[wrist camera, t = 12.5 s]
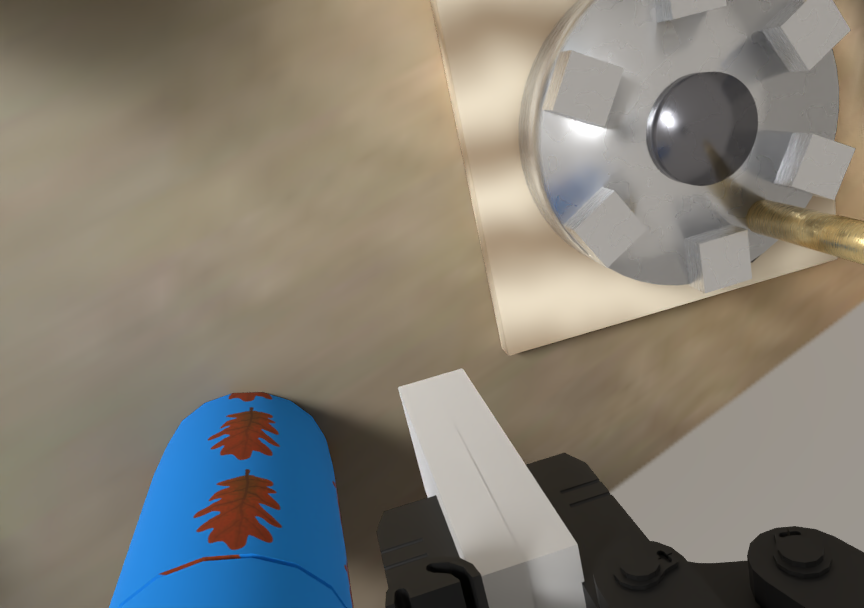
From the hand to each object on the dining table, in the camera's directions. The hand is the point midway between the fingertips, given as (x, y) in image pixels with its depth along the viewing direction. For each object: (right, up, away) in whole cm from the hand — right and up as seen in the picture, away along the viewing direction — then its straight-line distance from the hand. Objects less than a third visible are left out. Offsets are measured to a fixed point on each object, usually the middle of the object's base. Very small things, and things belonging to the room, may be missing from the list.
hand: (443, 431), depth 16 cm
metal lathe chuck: (+14, +14, +27) cm, 33 cm away
